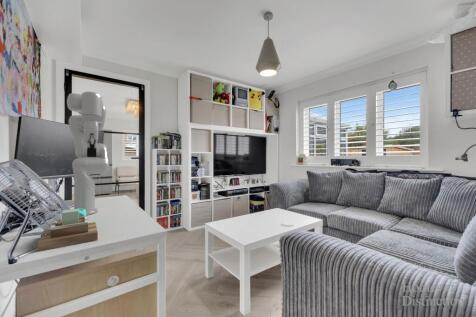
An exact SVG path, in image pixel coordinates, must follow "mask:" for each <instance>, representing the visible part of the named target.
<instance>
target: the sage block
mask: <svg viewBox="0 0 476 317" xmlns="http://www.w3.org/2000/svg"><path fill="white" fill-rule="evenodd" d="M61 218H62V225H69V224H76V223H79V209H74V208H71V209H64V210H62V214H61Z"/></svg>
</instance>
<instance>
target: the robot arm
mask: <svg viewBox="0 0 476 317" xmlns="http://www.w3.org/2000/svg"><path fill="white" fill-rule="evenodd" d="M104 104H105V103H104V101H103V98H102V96H101V94H100V93H97V92H94V91H84V92H82V93H81V94H80V93H75V92H73V93H72V92H71V93H69V94H68V96H67V99H66V105H67V108H68V110H69V111H71V112H75V113H78V114H74V115H71V116H69V118H68V127H69V130H70V133H71V135H72V136H73V139H74V152H75V153H74V154H75V156H76V157H77V158H75V159H73V161H72V165H71V167H72V172H73V181H74V182H73V209H85V210H86V216H88V215H89V216H90V215H93V214H97V213H98V212H99V210H98V209H97V208H95V201H96V200H95V196H96V195H95V194H96V192H95V191H96V190H95V189H96V188H95V187H96V184H95V183H96V182H95V180H94V178H93V177H92V176H90V175H100V174H101V175H103V174H107V173H108V172H109V170H110V161H109V153H108V147H107V145H106V144H104V143H101V142H98V140H99V131H102V130H103V129H104V127H105V126H104V125H105V121H106V115H107V108H106V106H105V105H104Z"/></svg>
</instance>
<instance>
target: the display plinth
mask: <svg viewBox="0 0 476 317" xmlns="http://www.w3.org/2000/svg"><path fill="white" fill-rule="evenodd" d="M45 234H46V235H45ZM98 237H99V236H98V228H97V224H96V221H93V222H92V221H91V222H89V219H88V215H86V216H83V217H79V223H76V224H69V225H62V221H61V222H58V223H57V221H55V222H53V221H52V223H51V226H50V228H44V230H43V231H42V234H41V236H40V238H39V240H38V243H37V251H38V252H42V251H45V250H53V249H56V248H57V249H58V248H62V247H67V246H72V245H73V246H74V245H78V244H84V243H88V242H89V243H90V242H95V241H98V239H99V238H98Z"/></svg>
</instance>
